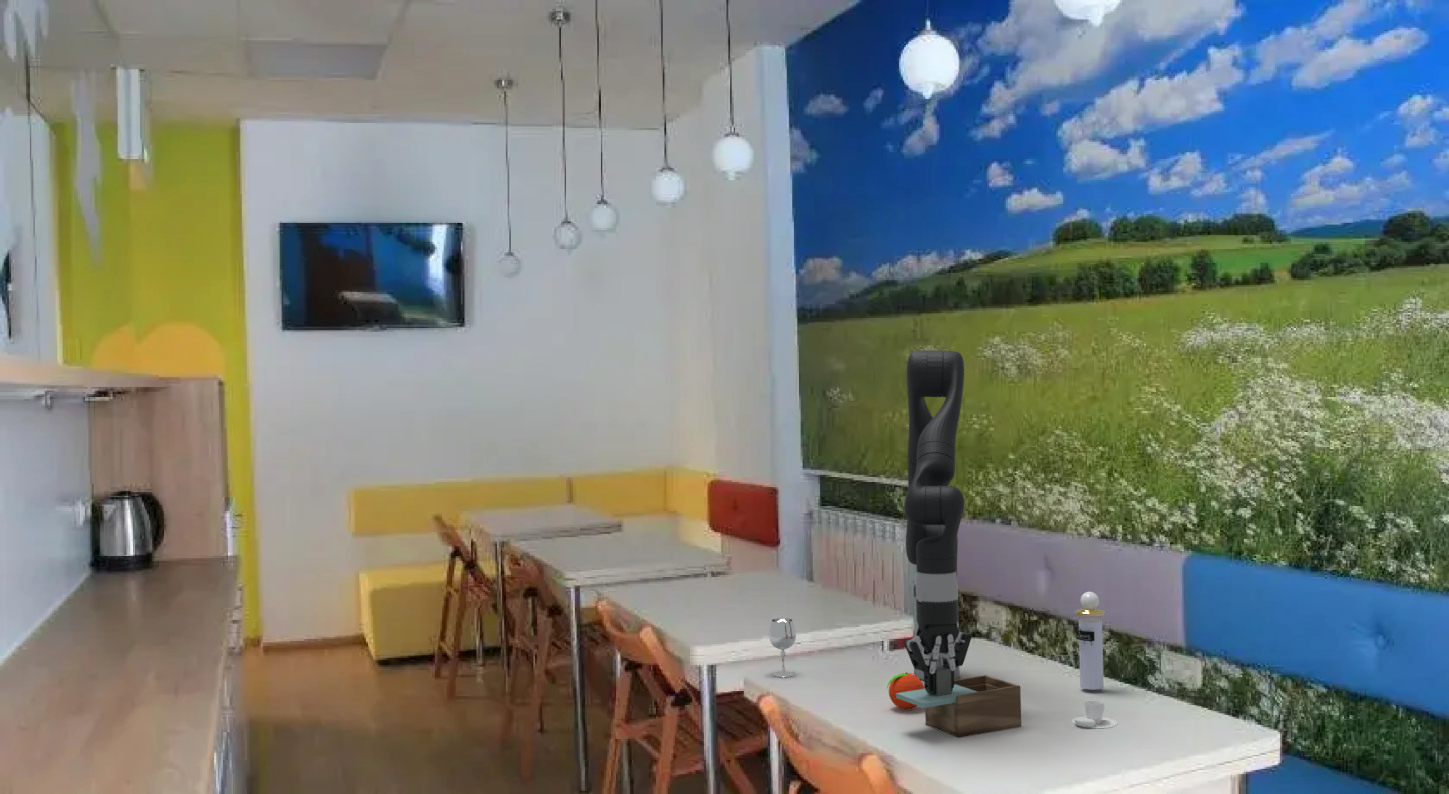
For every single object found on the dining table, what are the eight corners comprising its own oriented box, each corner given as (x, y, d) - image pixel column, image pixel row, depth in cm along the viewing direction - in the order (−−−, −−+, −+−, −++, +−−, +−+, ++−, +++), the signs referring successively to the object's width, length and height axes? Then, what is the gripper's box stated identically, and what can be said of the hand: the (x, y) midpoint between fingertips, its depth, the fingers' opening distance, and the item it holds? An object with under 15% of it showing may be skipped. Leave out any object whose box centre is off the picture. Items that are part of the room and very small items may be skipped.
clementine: (897, 716, 233) (896, 679, 232) (877, 708, 239) (876, 671, 239) (932, 710, 236) (931, 673, 236) (912, 703, 242) (911, 667, 242)
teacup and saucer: (1083, 733, 220) (1082, 710, 220) (1060, 722, 227) (1059, 700, 227) (1126, 728, 222) (1125, 705, 222) (1101, 717, 230) (1101, 695, 230)
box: (925, 724, 226) (924, 684, 226) (986, 714, 232) (985, 675, 232) (959, 738, 217) (957, 696, 217) (1021, 726, 223) (1020, 685, 223)
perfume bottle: (1087, 685, 252) (1085, 588, 252) (1112, 690, 248) (1110, 591, 248) (1071, 690, 248) (1068, 592, 248) (1096, 695, 244) (1094, 595, 244)
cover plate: (896, 697, 222) (895, 668, 222) (954, 688, 228) (953, 659, 228) (924, 708, 215) (923, 677, 215) (983, 698, 220) (982, 668, 220)
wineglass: (779, 670, 273) (778, 617, 273) (801, 673, 269) (800, 619, 269) (765, 676, 268) (763, 621, 268) (787, 679, 265) (786, 623, 265)
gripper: (955, 590, 228) (958, 683, 228) (892, 597, 222) (895, 693, 222) (981, 595, 221) (983, 691, 221) (917, 603, 215) (919, 702, 215)
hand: (939, 691), depth 221 cm, fingers closed on cover plate, 3 cm apart
